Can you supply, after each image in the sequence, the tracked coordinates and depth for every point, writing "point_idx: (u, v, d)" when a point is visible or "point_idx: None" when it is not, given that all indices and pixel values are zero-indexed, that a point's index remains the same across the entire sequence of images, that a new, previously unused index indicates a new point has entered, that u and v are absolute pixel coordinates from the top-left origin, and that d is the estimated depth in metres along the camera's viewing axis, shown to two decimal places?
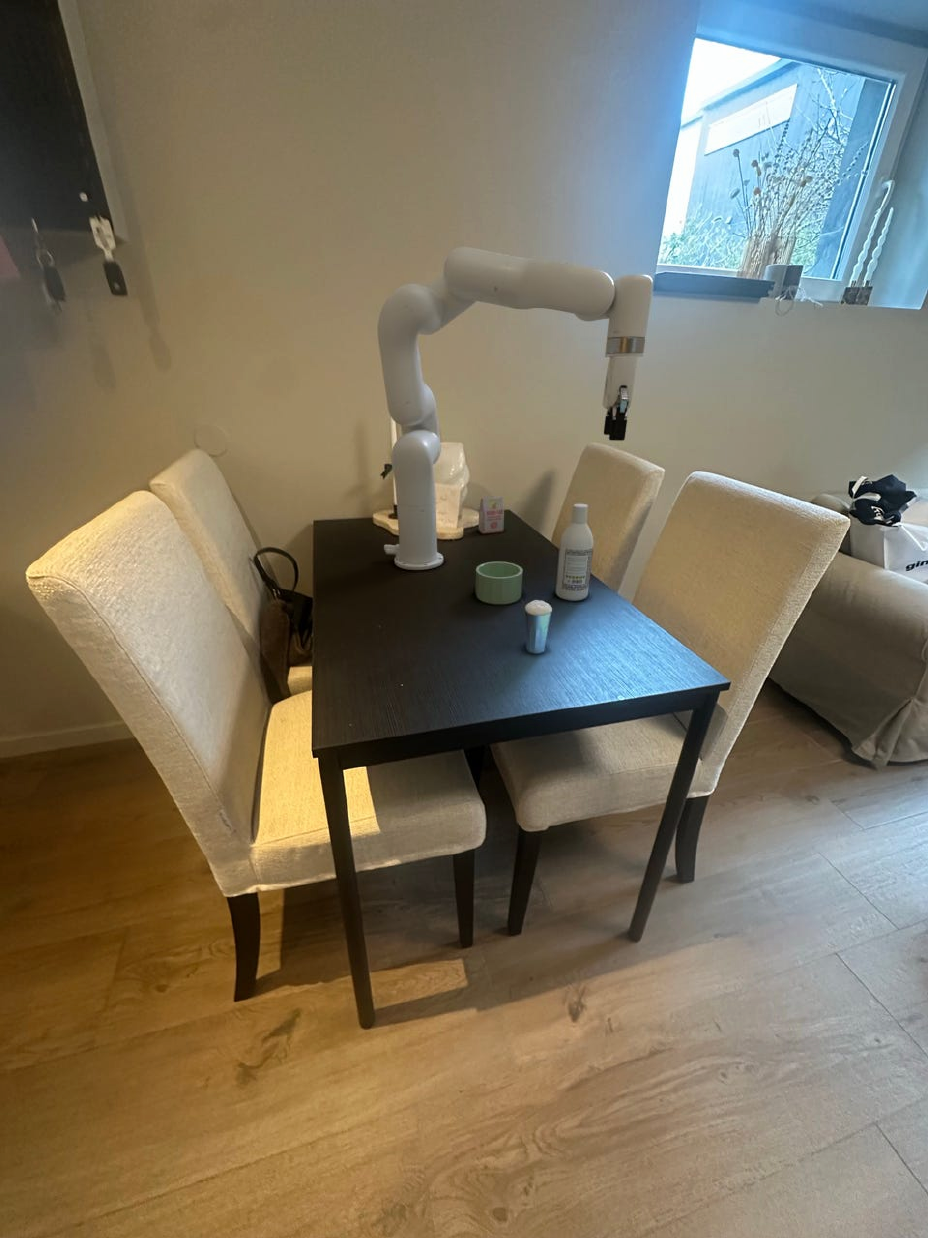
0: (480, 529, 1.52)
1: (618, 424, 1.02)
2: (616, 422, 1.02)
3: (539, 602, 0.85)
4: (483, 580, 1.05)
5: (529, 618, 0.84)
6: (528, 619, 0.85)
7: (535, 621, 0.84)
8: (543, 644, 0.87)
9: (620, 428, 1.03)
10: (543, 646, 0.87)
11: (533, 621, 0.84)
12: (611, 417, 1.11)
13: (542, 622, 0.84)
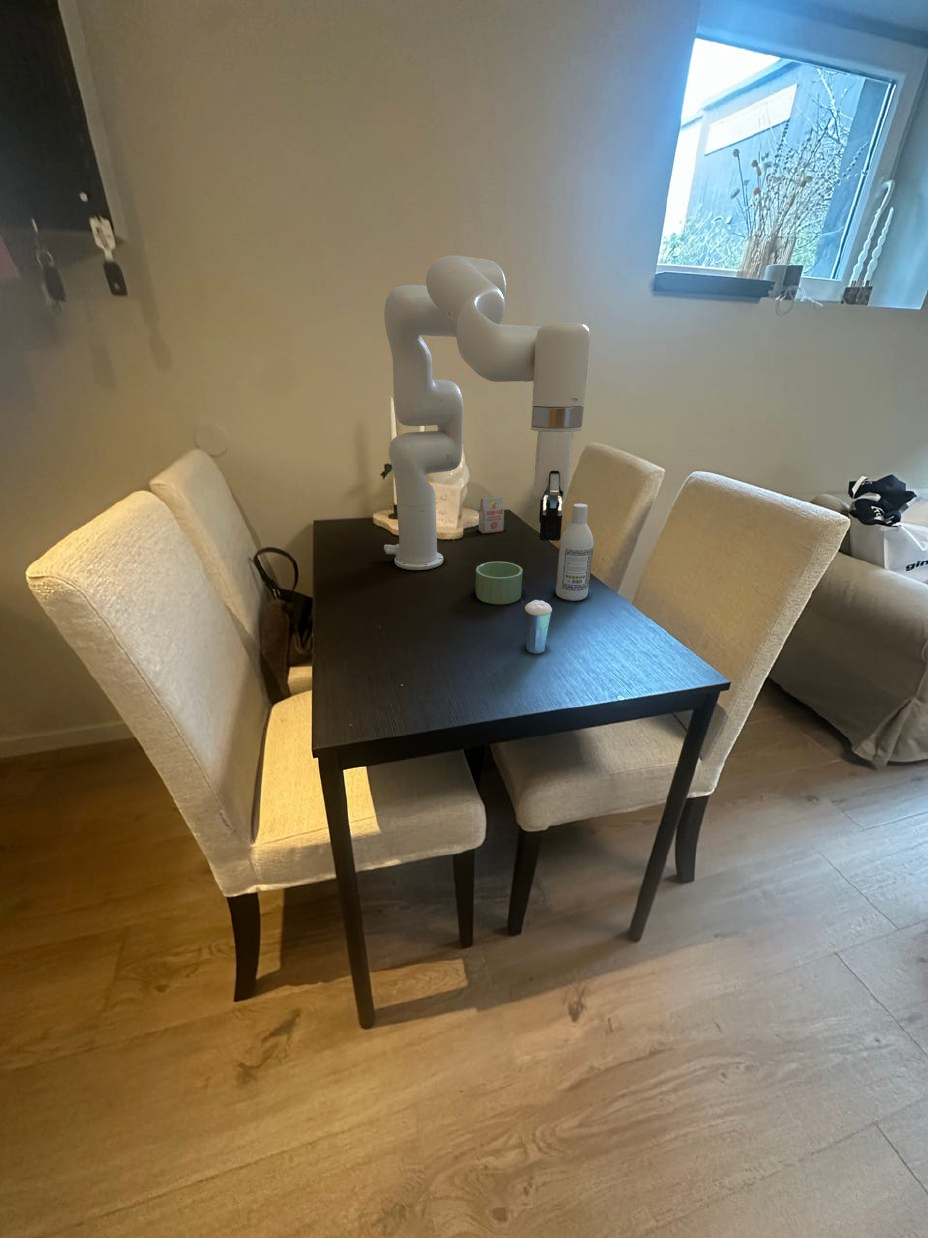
0: (480, 529, 1.52)
1: (550, 521, 0.75)
2: (547, 518, 0.75)
3: (539, 602, 0.85)
4: (483, 580, 1.05)
5: (529, 618, 0.84)
6: (528, 619, 0.85)
7: (535, 621, 0.84)
8: (543, 644, 0.87)
9: (553, 526, 0.75)
10: (543, 646, 0.87)
11: (533, 621, 0.84)
12: None
13: (542, 622, 0.84)
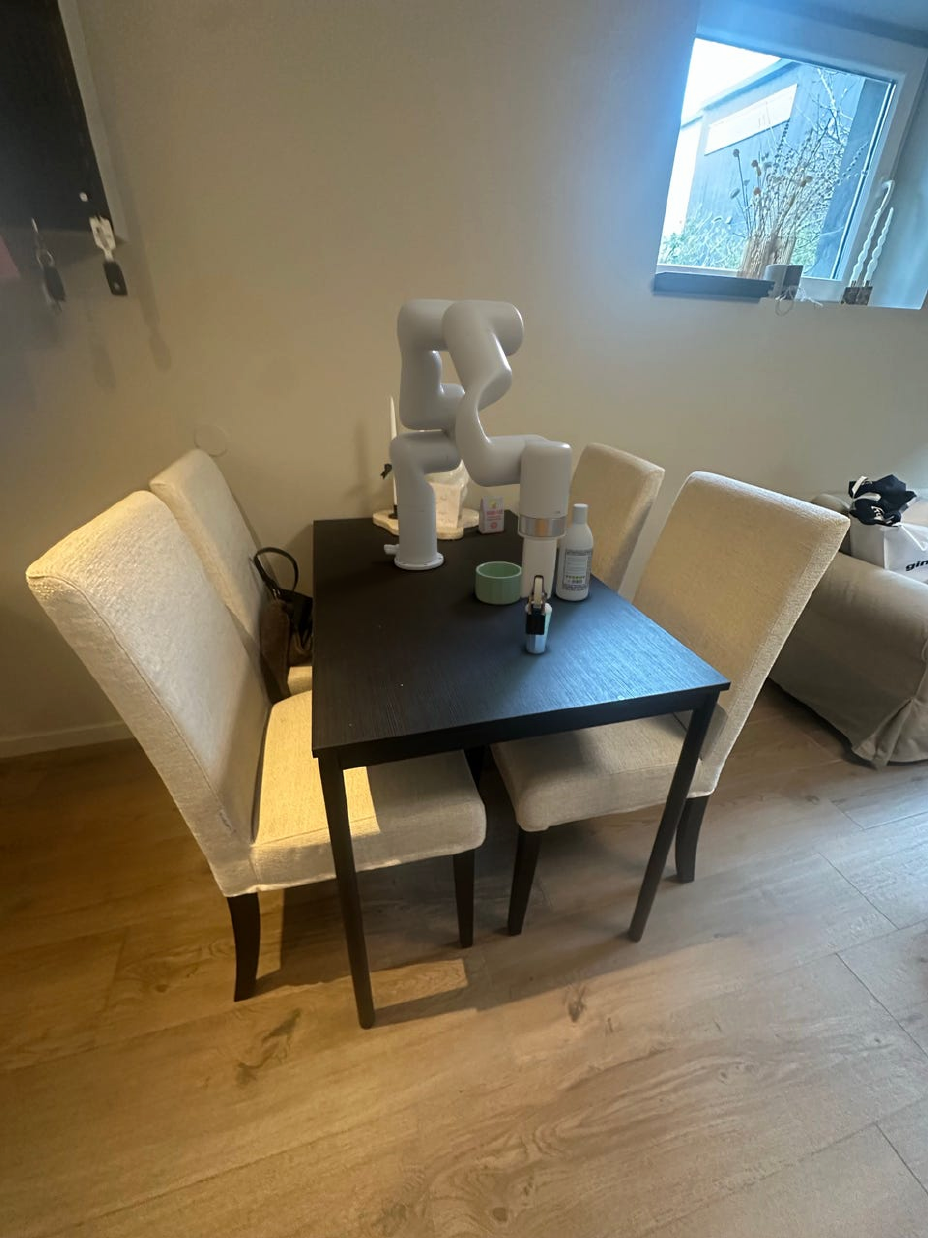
0: (480, 529, 1.52)
1: (535, 619, 0.82)
2: (532, 617, 0.82)
3: None
4: (483, 580, 1.05)
5: None
6: None
7: None
8: (543, 644, 0.87)
9: (537, 624, 0.82)
10: (543, 646, 0.87)
11: None
12: (534, 601, 0.87)
13: None
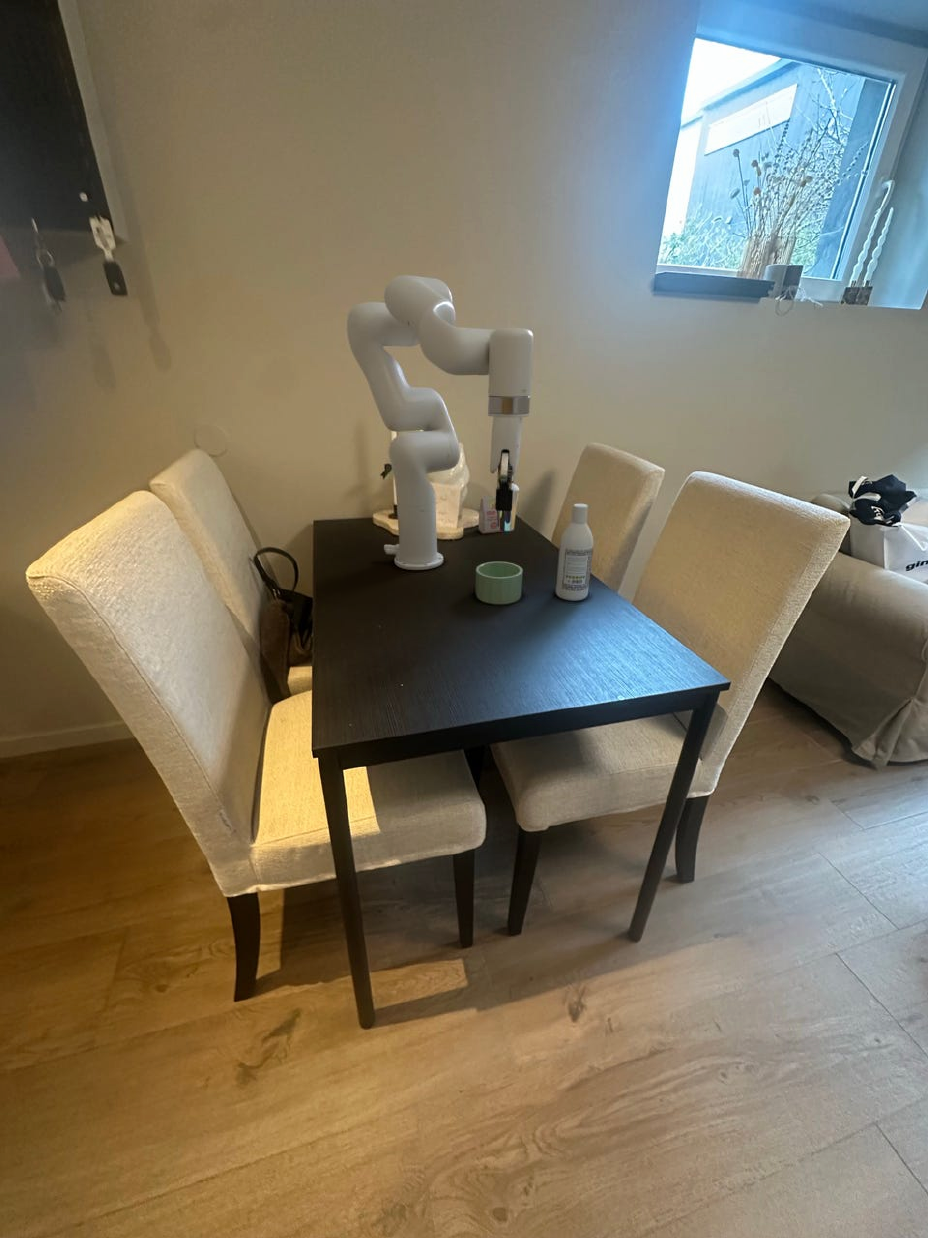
0: (480, 529, 1.52)
1: (503, 494, 0.94)
2: (500, 492, 0.94)
3: None
4: (483, 580, 1.05)
5: None
6: None
7: None
8: (512, 522, 0.99)
9: (505, 499, 0.94)
10: (512, 524, 0.99)
11: None
12: None
13: None
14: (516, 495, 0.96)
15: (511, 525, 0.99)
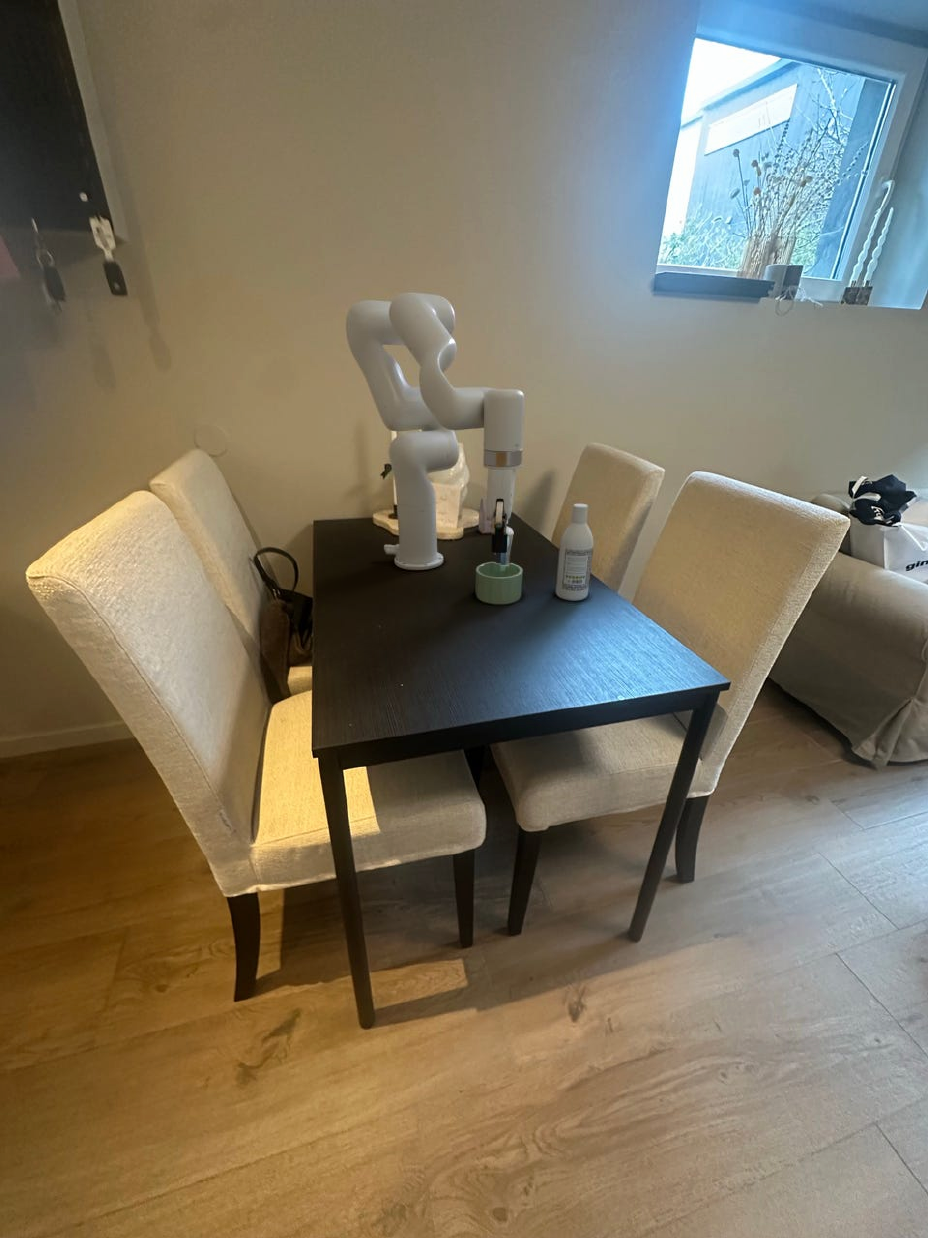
0: (480, 529, 1.52)
1: (498, 538, 1.01)
2: (496, 536, 1.00)
3: None
4: (483, 580, 1.05)
5: None
6: None
7: None
8: (507, 562, 1.05)
9: (500, 542, 1.01)
10: (507, 564, 1.06)
11: None
12: None
13: None
14: (511, 538, 1.03)
15: (506, 565, 1.05)
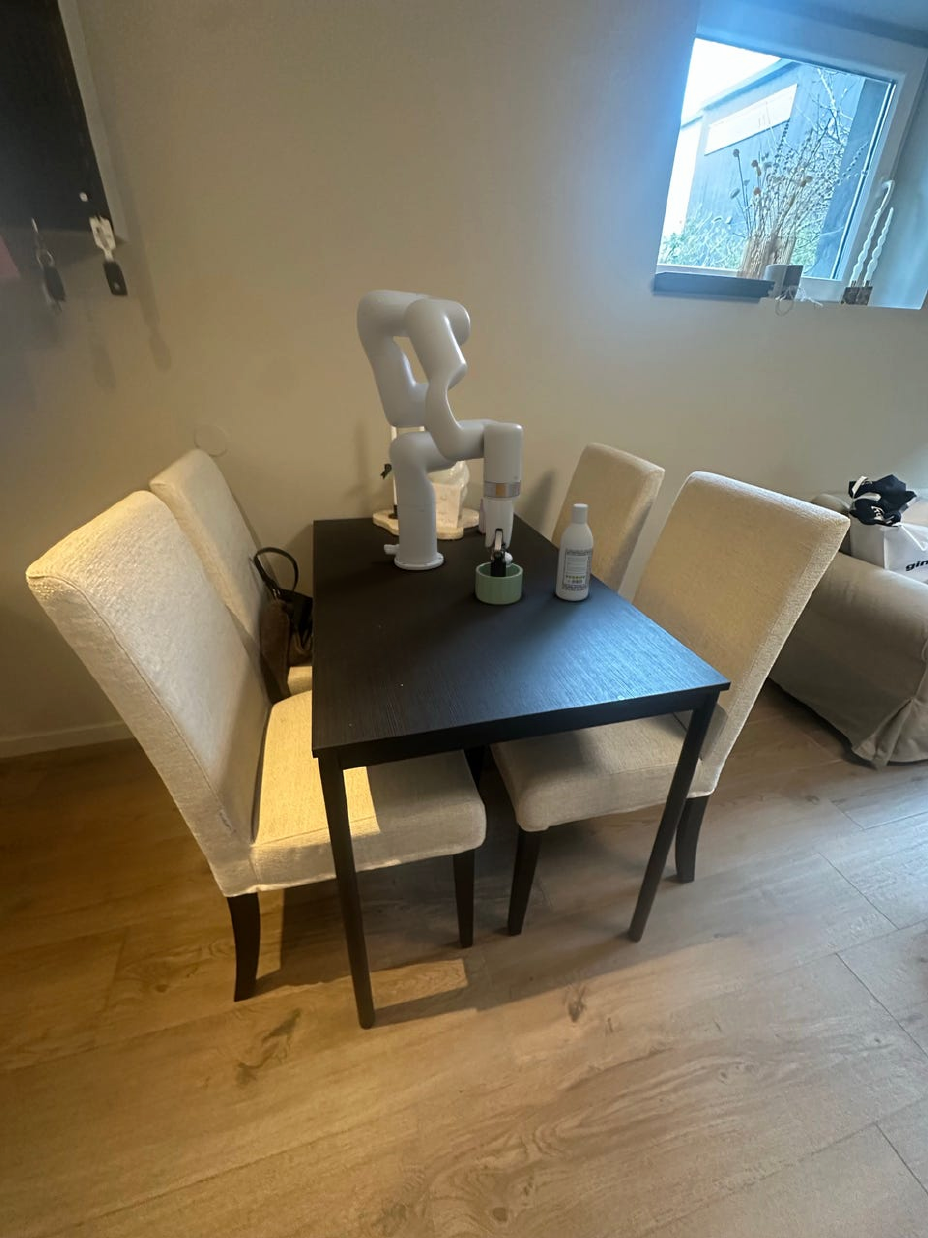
0: (480, 529, 1.52)
1: (497, 566, 1.02)
2: (495, 564, 1.02)
3: (502, 552, 1.06)
4: (483, 580, 1.05)
5: None
6: None
7: None
8: None
9: (499, 569, 1.03)
10: None
11: None
12: None
13: None
14: (509, 564, 1.05)
15: None
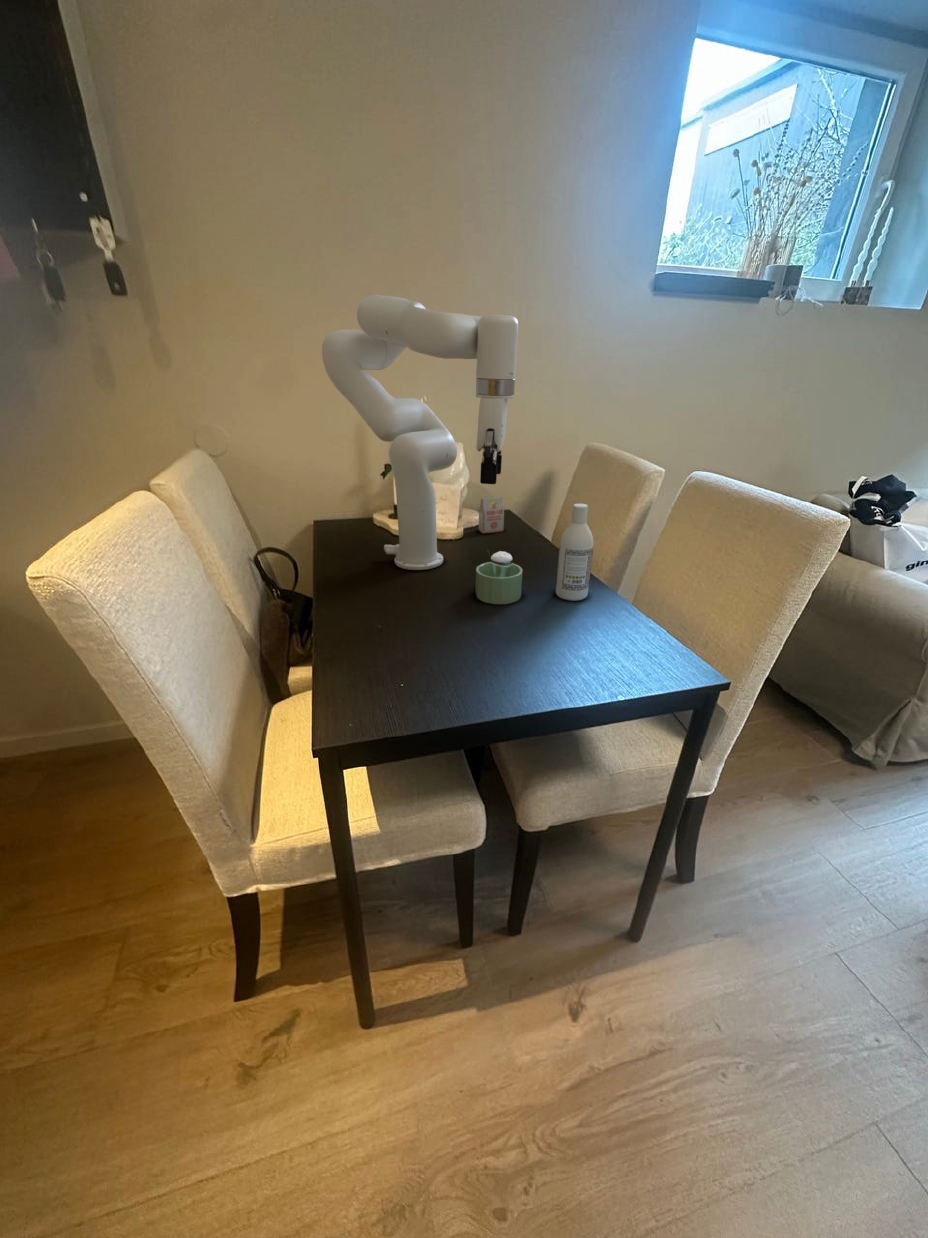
0: (480, 529, 1.52)
1: (487, 468, 0.98)
2: (485, 466, 0.98)
3: (502, 552, 1.06)
4: (483, 580, 1.05)
5: (494, 565, 1.05)
6: (493, 566, 1.06)
7: (499, 567, 1.05)
8: None
9: (489, 472, 0.98)
10: None
11: (497, 567, 1.05)
12: None
13: (504, 568, 1.05)
14: (509, 564, 1.05)
15: None
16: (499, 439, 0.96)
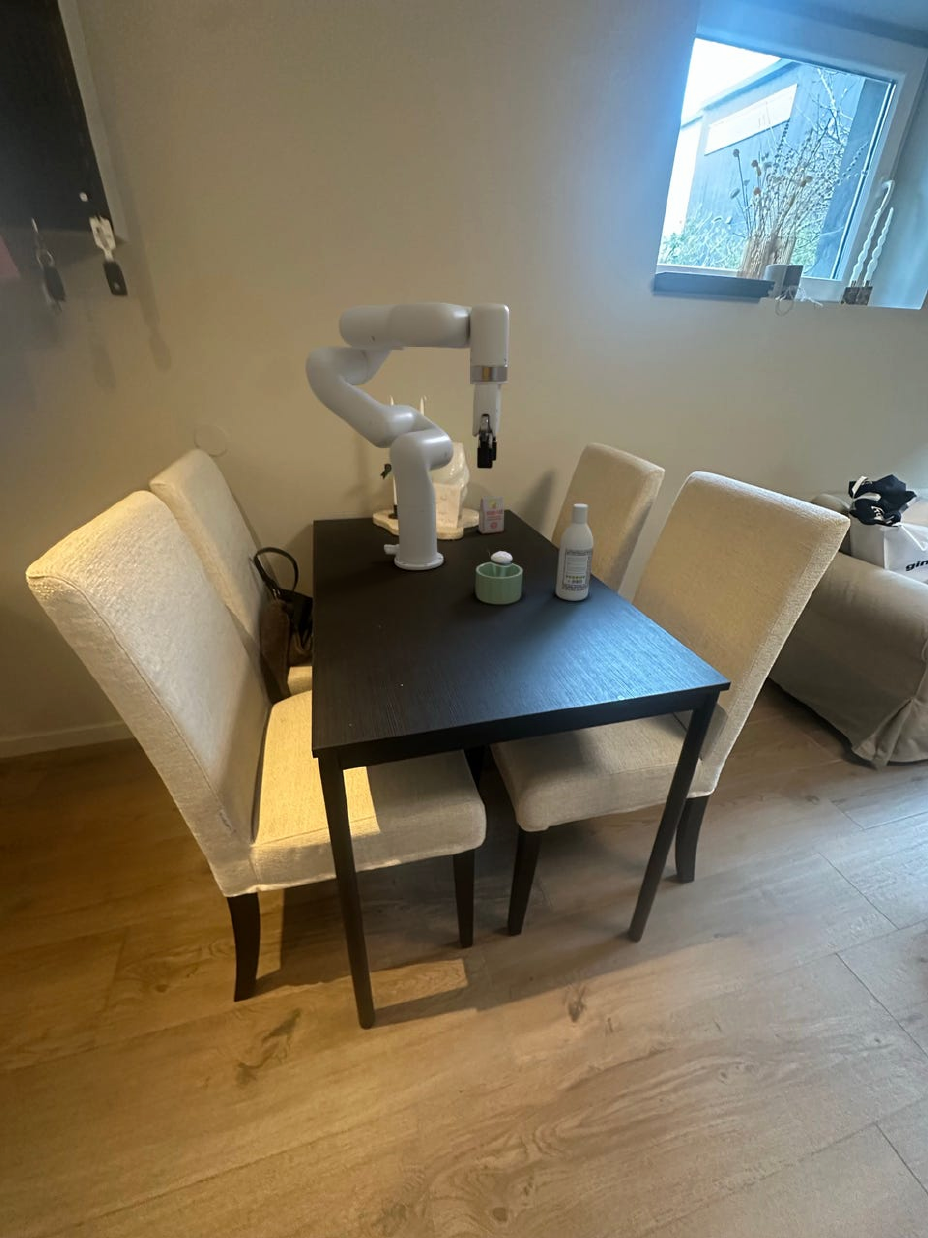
0: (480, 529, 1.52)
1: (483, 452, 1.01)
2: (481, 450, 1.01)
3: (502, 552, 1.06)
4: (483, 580, 1.05)
5: (494, 565, 1.05)
6: (493, 566, 1.06)
7: (499, 567, 1.05)
8: None
9: (486, 456, 1.01)
10: None
11: (497, 567, 1.05)
12: None
13: (504, 568, 1.05)
14: (509, 564, 1.05)
15: None
16: (494, 424, 0.99)
